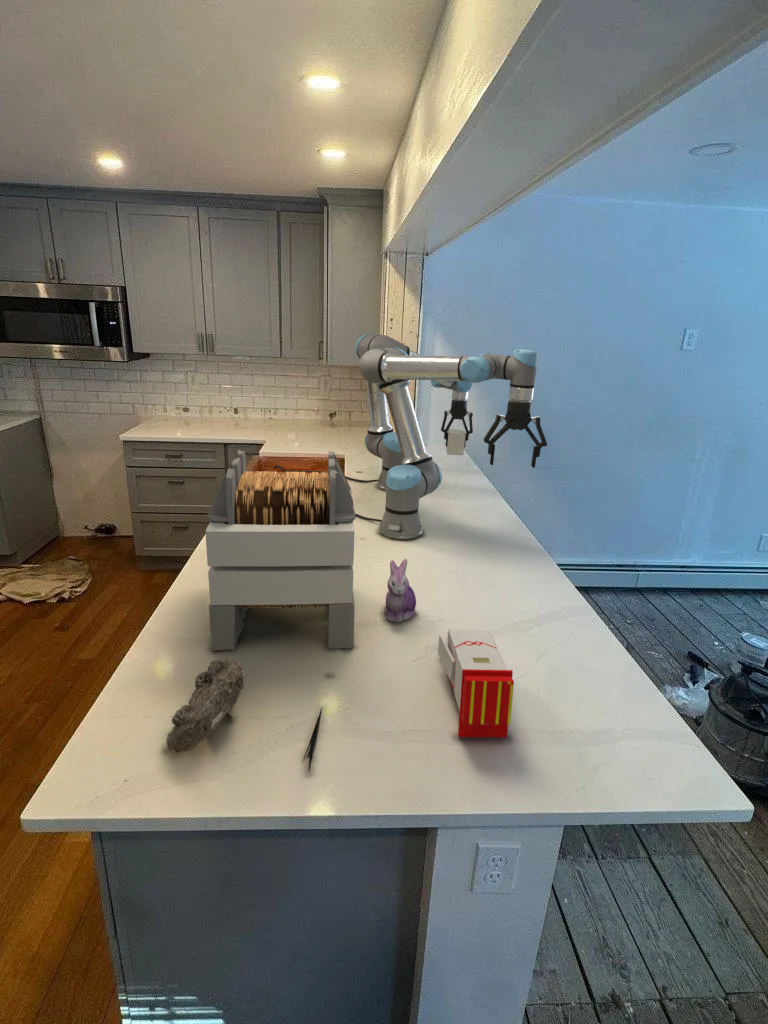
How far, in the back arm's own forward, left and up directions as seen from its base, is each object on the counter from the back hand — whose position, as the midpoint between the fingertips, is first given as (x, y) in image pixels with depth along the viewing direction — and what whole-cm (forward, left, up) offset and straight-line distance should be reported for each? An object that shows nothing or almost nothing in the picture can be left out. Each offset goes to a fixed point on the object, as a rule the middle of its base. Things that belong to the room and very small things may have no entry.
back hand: (455, 446), depth 277 cm
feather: (+43, -183, -13) cm, 189 cm away
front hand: (+48, -77, +15) cm, 92 cm away
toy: (+65, -160, -13) cm, 174 cm away
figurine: (+39, -139, -13) cm, 145 cm away
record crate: (+14, -155, -13) cm, 156 cm away
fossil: (+25, -193, -13) cm, 195 cm away
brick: (0, 0, -3) cm, 3 cm away
